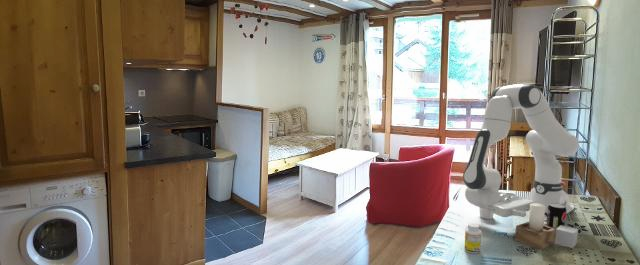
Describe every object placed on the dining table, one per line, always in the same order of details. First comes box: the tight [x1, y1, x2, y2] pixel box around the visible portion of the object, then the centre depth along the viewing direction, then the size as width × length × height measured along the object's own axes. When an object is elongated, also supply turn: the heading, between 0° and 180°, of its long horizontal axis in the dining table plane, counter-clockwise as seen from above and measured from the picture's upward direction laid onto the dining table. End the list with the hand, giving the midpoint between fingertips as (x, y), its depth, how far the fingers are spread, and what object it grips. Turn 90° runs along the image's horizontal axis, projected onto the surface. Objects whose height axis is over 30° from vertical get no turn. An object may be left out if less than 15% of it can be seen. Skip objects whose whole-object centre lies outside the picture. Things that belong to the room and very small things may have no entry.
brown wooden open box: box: [514, 221, 556, 250], centre depth 153 cm, size 10×10×6 cm
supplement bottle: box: [464, 222, 482, 255], centre depth 144 cm, size 6×6×10 cm
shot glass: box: [479, 207, 495, 220], centre depth 181 cm, size 7×7×7 cm
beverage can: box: [545, 203, 567, 229], centre depth 161 cm, size 7×7×12 cm
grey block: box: [554, 225, 579, 249], centre depth 151 cm, size 6×6×6 cm
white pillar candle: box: [528, 203, 546, 232], centre depth 152 cm, size 5×5×10 cm
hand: (531, 212), depth 153 cm, fingers open, 8 cm apart
